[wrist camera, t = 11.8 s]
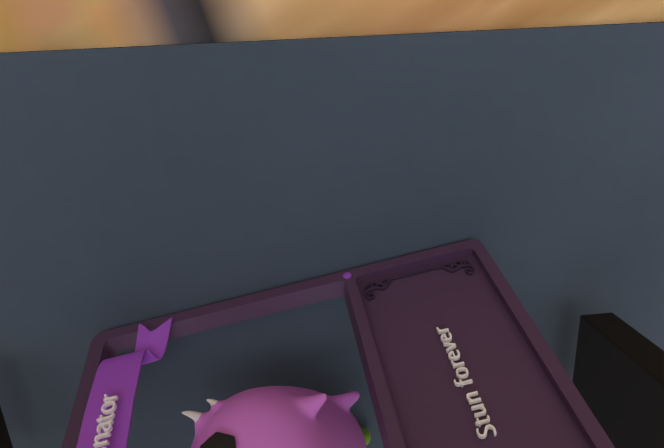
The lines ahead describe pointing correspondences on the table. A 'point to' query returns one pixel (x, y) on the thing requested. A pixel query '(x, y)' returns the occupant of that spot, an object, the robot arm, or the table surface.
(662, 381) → the robot arm
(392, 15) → the table surface
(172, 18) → the table surface
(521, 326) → the game card
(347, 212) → the mat
